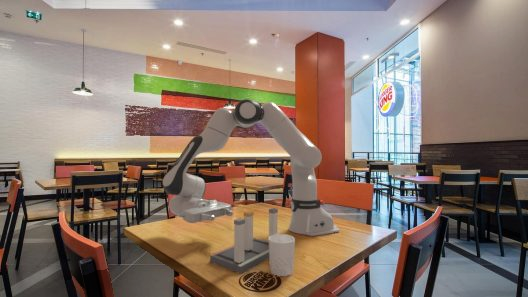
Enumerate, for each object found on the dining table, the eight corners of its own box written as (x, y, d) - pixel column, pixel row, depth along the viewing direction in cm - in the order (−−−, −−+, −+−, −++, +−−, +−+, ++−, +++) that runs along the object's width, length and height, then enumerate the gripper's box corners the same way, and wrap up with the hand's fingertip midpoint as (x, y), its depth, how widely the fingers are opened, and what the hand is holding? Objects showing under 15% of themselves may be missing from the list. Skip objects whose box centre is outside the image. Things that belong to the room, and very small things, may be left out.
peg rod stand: (210, 261, 85) (210, 215, 85) (253, 242, 102) (253, 204, 102) (240, 273, 77) (241, 222, 77) (281, 250, 94) (282, 209, 94)
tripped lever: (243, 249, 89) (243, 212, 89) (248, 247, 91) (248, 211, 91) (248, 250, 88) (248, 213, 88) (253, 248, 90) (253, 211, 90)
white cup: (279, 280, 73) (279, 244, 73) (263, 270, 79) (263, 237, 79) (300, 273, 77) (300, 239, 77) (283, 263, 84) (283, 232, 84)
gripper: (176, 206, 97) (200, 212, 88) (217, 198, 113) (241, 203, 105) (175, 223, 97) (199, 230, 88) (217, 213, 113) (240, 219, 105)
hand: (222, 215), depth 97 cm, fingers open, 8 cm apart
